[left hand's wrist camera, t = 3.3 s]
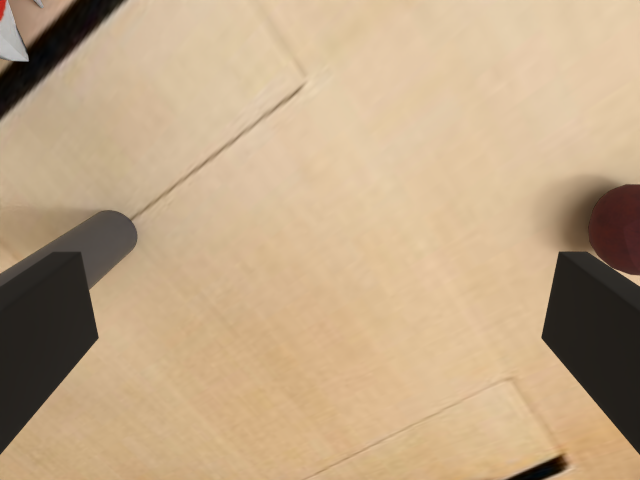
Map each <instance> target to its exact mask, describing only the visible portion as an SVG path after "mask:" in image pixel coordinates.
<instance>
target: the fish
mask: <svg viewBox="0 0 640 480" xmlns="http://www.w3.org/2000/svg"><path fill="white" fill-rule="evenodd" d="M34 1H35V2H36V3H37V4H38V5H39V6H40V7H41V8H43V4H42V2H41V0H34ZM0 58H1V59H5V60H10V61H29V59H28V54H27V49H26V47H25V44H24V42H23V40H22V38H21V36H20V33H19V31H18V29H17V27H16V24H15V20H14V17H13V14H12V11H11V8H10V5H9V2H8V0H0Z"/></svg>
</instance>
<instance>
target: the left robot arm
mask: <svg viewBox="0 0 640 480" xmlns="http://www.w3.org/2000/svg"><path fill="white" fill-rule="evenodd" d="M98 338H99V337H98V332H97V327H96V323H95V318H94V313H93V308H92V303H91V298H90V293H89V288H88V283H87V278H86V273H85V269H84V264H83V259H82V254H81V252H52V253H50V254H49V255H47V256H46V257H44V258H43V259H41V260H40V261H38V262H37V263H35V264H34V265H32V266H31V267H29V268H28V269H26V270H25V271H23V272H22V273H20V274H19V275H17V276H16V277H14V278H13V279H11V280H10V281H8V282H7V283H5V284H3V285H2V286H0V454H1V453H2V452H3V451H4V450H5V448H6V447H7V446H8V445H9V444H10V442H11V441H12V440H13V439H14V438H15V437H16V435H17V434H18V433H19V432H20V431H21V429H22V428H23V427H24V426H25V425H26V424H27V422H28V421H29V420H30V419H31V418H32V416H33V415H34V414H35V413H36V412H37V410H38V409H39V408H40V407H41V406H42V405H43V403H44V402H45V401H46V400H47V399H48V397H49V396H50V395H51V394H52V393H53V391H54V390H55V389H56V388H57V387H58V386H59V384H60V383H61V382H62V381H63V380H64V378H65V377H66V376H67V375H68V374H69V373H70V371H71V370H72V369H73V368H74V367H75V365H76V364H77V363H78V362H79V361H80V359H81V358H82V357H83V356H84V355H85V354H86V352H87V351H88V350H89V349H90V348H91V346H92V345H93V344H94V343H95V342H96V341H97V339H98ZM541 338H542V339H543V341H544V342H545V343H546V344H547V345H548V346H549V348H550V349H551V350H552V351H553V352H554V354H555V355H556V356H557V357H558V358H559V359H560V361H561V362H562V363H563V364H564V365H565V367H566V368H567V369H568V370H569V371H570V373H571V374H572V375H573V376H574V377H575V378H576V380H577V381H578V382H579V383H580V384H581V386H582V387H583V388H584V389H585V390H586V391H587V393H588V394H589V395H590V396H591V397H592V399H593V400H594V401H595V402H596V403H597V405H598V406H599V407H600V408H601V409H602V410H603V412H604V413H605V414H606V415H607V416H608V418H609V419H610V420H611V421H612V422H613V424H614V425H615V426H616V427H617V428H618V429H619V431H620V432H621V433H622V434H623V435H624V437H625V438H626V439H627V440H628V441H629V442H630V444H631V445H632V446H633V447H634V448H635V450H636V451H637V452H638V453H639V454H640V286H638V285H637V284H635V283H633V282H632V281H630V280H629V279H627V278H626V277H624V276H623V275H621V274H620V273H618V272H617V271H615V270H614V269H612V268H611V267H609V266H608V265H606V264H605V263H603V262H602V261H600V260H599V259H597V258H596V257H594V256H593V255H591V254H590V253H588V252H559V254H558V259H557V264H556V269H555V273H554V278H553V283H552V288H551V293H550V298H549V303H548V308H547V313H546V318H545V323H544V327H543V332H542V337H541Z"/></svg>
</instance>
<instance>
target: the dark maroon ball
mask: <svg viewBox="0 0 640 480" xmlns="http://www.w3.org/2000/svg"><path fill="white" fill-rule="evenodd" d="M588 228H589V240H590V243H591V245H592V247H593V249H594V250H595V252H596V253H597V255H598V256H599V257H600V258H601V259H602V260H603V261H604V262H606V263H607V264H608V265H609V266H610V267H612V268H614V269H616V270H619V271H622V272H625V273H628V274H630V275H640V185H623V186H621V187H618V188H615V189H612V190H610V191H609V192H607V193H606V194H605V195H604V196H603V197H601V198H600V199H599V201H598V202H597V204H596V205H595V207H594V209H593V212H592V216H591V219H590V223H589V227H588Z"/></svg>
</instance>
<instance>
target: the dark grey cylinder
mask: <svg viewBox="0 0 640 480" xmlns="http://www.w3.org/2000/svg"><path fill="white" fill-rule="evenodd" d="M136 242H137V232H136V228H135V226H134V224H133V223H132V222H131V220H130V219H129V218H127V217H126V216H125V215H123V214H121V213H119V212H116V211H102V212H99V213H98V214H96V215H94V216H93V217H91V218H89V219H88V220H86V221H85V222H83V223H81V224H80V225H78V226H77V227H75V228H73V229H72V230H70V231H68V232H67V233H65V234H64V235H62V236H60V237H59V238H57V239H56V240H54V241H52V242H51V243H49V244H47V245H46V246H44V247H43V248H41V249H39V250H38V251H36V252H35V253H33V254H31V255H30V256H28V257H27V258H25V259H23V260H22V261H20V262H18V263H17V264H15V265H14V266H12V267H10V268H9V269H7V270H6V271H4V272H2V273H1V274H0V286H2V285H3V284H5V283H7V282H8V281H10V280H11V279H13V278H14V277H16V276H17V275H19V274H20V273H22V272H23V271H25V270H26V269H28V268H29V267H31V266H32V265H34V264H35V263H37V262H38V261H40V260H41V259H43V258H44V257H46V256H47V255H49V254H50V253H52V252H81V254H82V259H83V264H84V269H85V273H86V278H87V283H88V288H89V289H90V288H92V287H93V286H94V285H95V284H96V283H97V282H98V281H99V280H100V279H101V278H102V277H103V276H104V275H106V274H107V273H108V272H109V271H110V270H111V269H112V268H113V267H114V266H115V265H116V264H117V263H119V262H120V261H121V260H122V259H123V258H124V257H125V256H126V255H127V254H128V253H129V252H130V251H131V250H132V249H133V248H134V247H135V245H136Z"/></svg>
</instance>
